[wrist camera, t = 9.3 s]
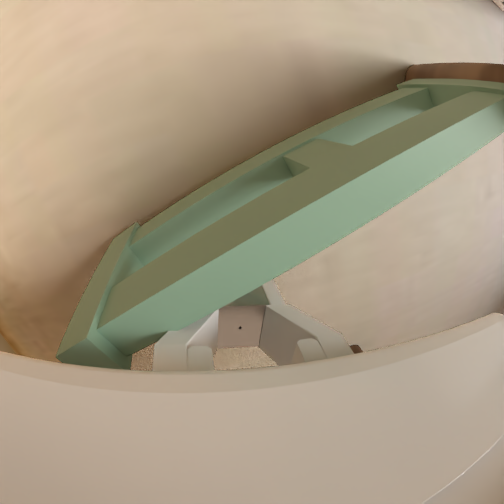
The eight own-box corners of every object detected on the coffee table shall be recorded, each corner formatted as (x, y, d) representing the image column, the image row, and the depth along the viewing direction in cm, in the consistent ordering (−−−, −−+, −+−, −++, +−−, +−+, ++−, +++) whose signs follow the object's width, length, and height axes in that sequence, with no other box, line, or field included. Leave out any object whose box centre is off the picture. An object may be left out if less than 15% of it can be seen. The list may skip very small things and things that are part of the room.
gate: (421, 103, 12) (534, 122, 5) (132, 261, 13) (95, 388, 6) (413, 78, 12) (528, 87, 5) (113, 238, 13) (55, 357, 6)
